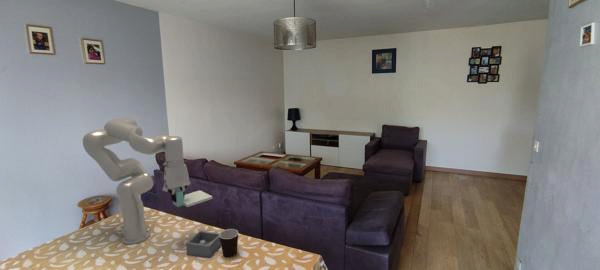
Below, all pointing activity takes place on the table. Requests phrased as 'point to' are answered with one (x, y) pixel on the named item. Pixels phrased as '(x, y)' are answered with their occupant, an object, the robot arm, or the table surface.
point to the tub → (203, 244)
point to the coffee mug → (229, 242)
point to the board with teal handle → (190, 198)
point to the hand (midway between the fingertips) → (178, 199)
